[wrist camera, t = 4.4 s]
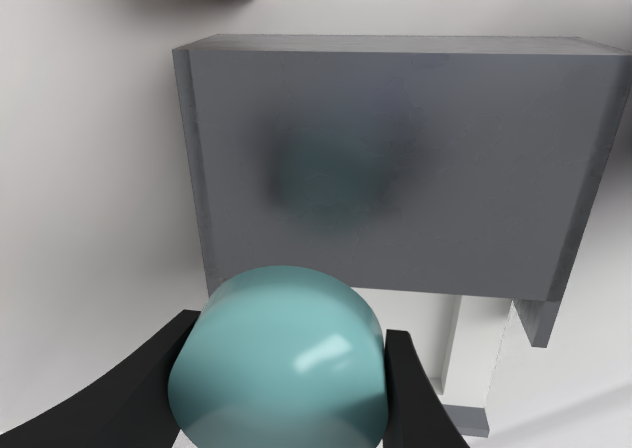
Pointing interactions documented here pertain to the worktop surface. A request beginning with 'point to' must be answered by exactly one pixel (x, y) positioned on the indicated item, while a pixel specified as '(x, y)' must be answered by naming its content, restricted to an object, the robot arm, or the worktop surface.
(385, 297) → the tray
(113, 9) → the worktop surface
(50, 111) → the worktop surface
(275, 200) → the player housing
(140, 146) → the worktop surface
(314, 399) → the teal dome knob
